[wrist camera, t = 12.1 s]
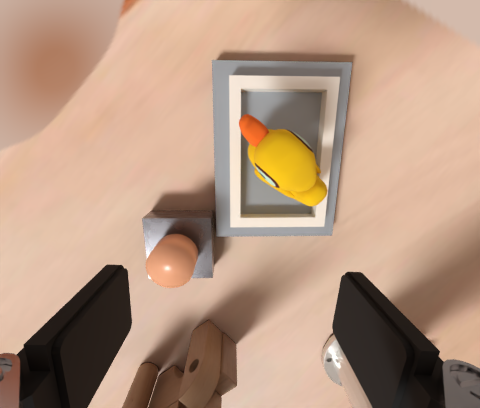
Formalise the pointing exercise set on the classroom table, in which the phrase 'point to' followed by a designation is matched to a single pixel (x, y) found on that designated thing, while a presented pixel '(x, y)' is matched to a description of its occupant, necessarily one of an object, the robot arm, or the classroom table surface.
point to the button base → (186, 224)
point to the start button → (172, 261)
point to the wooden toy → (189, 375)
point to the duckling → (283, 161)
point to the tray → (276, 117)
